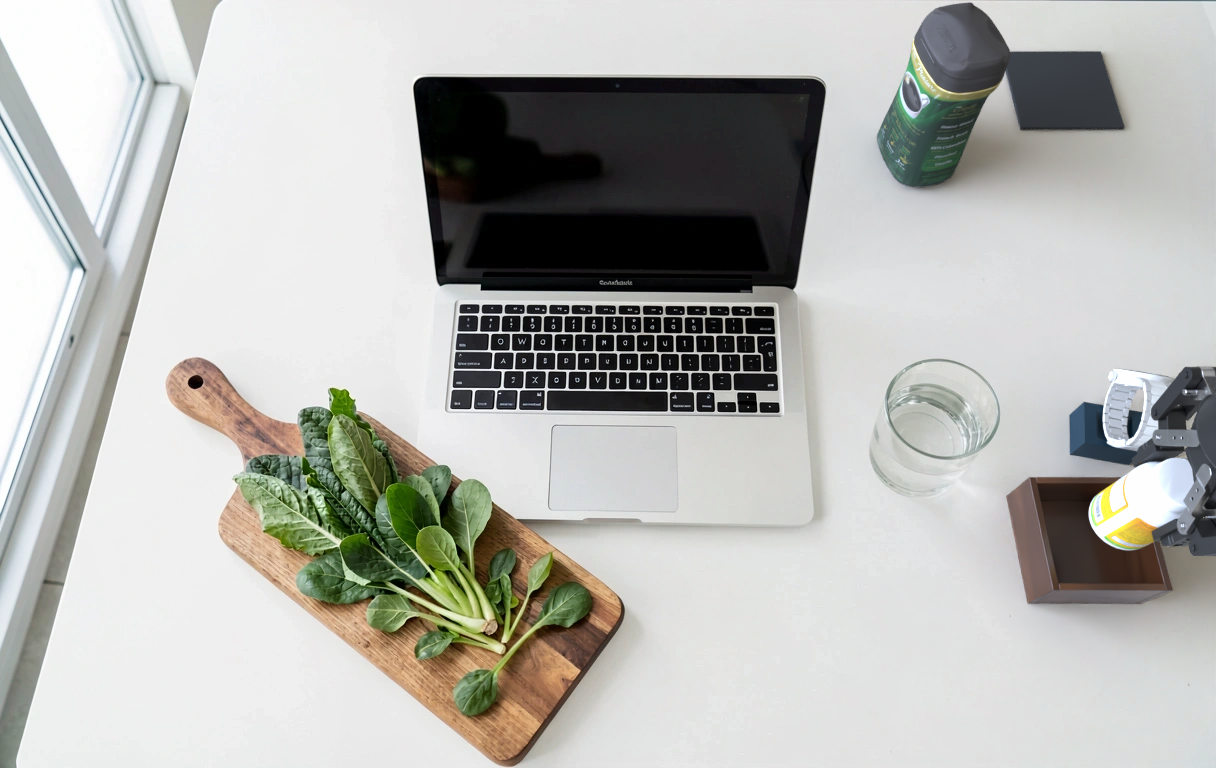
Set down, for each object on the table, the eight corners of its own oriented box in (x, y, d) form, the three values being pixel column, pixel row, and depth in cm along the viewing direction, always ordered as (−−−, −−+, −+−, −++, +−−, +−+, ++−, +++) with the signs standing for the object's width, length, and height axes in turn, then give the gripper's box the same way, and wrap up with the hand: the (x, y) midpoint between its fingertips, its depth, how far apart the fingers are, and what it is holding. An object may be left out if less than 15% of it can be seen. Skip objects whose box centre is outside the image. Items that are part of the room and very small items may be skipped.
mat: (1099, 53, 111) (1100, 51, 110) (1123, 129, 105) (1125, 127, 105) (1001, 53, 111) (1002, 51, 110) (1020, 129, 105) (1021, 127, 105)
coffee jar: (962, 182, 102) (1031, 57, 85) (897, 196, 101) (952, 73, 85) (929, 119, 106) (988, -13, 90) (866, 131, 105) (913, 1, 89)
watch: (1126, 407, 90) (1189, 356, 80) (1129, 482, 86) (1195, 438, 76) (1068, 397, 90) (1123, 344, 80) (1069, 471, 87) (1127, 426, 77)
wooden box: (1113, 496, 86) (1142, 477, 81) (1140, 604, 81) (1173, 590, 77) (1006, 496, 86) (1029, 476, 81) (1027, 603, 81) (1053, 590, 77)
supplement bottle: (1166, 533, 75) (1238, 496, 67) (1116, 562, 74) (1181, 529, 66) (1123, 479, 77) (1187, 436, 69) (1073, 507, 76) (1131, 467, 68)
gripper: (1404, 525, 53) (1228, 590, 68) (1321, 312, 59) (1177, 415, 74) (1274, 525, 53) (1128, 590, 68) (1205, 312, 59) (1085, 416, 74)
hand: (1154, 499), depth 71 cm, fingers closed on supplement bottle, 5 cm apart
